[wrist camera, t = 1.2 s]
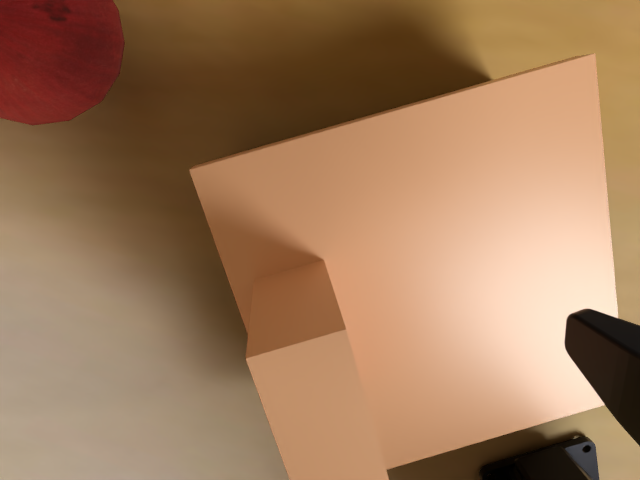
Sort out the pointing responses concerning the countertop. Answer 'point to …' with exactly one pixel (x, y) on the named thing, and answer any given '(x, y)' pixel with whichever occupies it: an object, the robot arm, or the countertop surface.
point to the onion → (57, 57)
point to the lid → (419, 269)
